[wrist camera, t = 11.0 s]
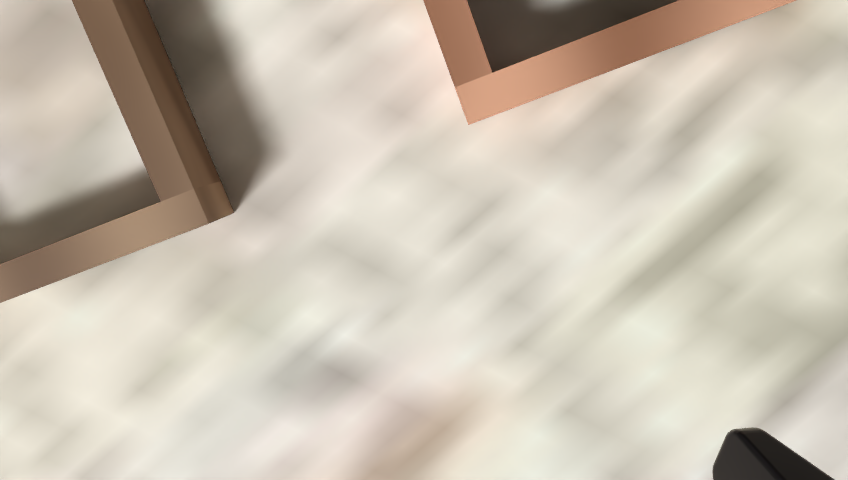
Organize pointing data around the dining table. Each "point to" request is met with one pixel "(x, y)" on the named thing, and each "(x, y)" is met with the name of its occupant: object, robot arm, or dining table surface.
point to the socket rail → (189, 158)
